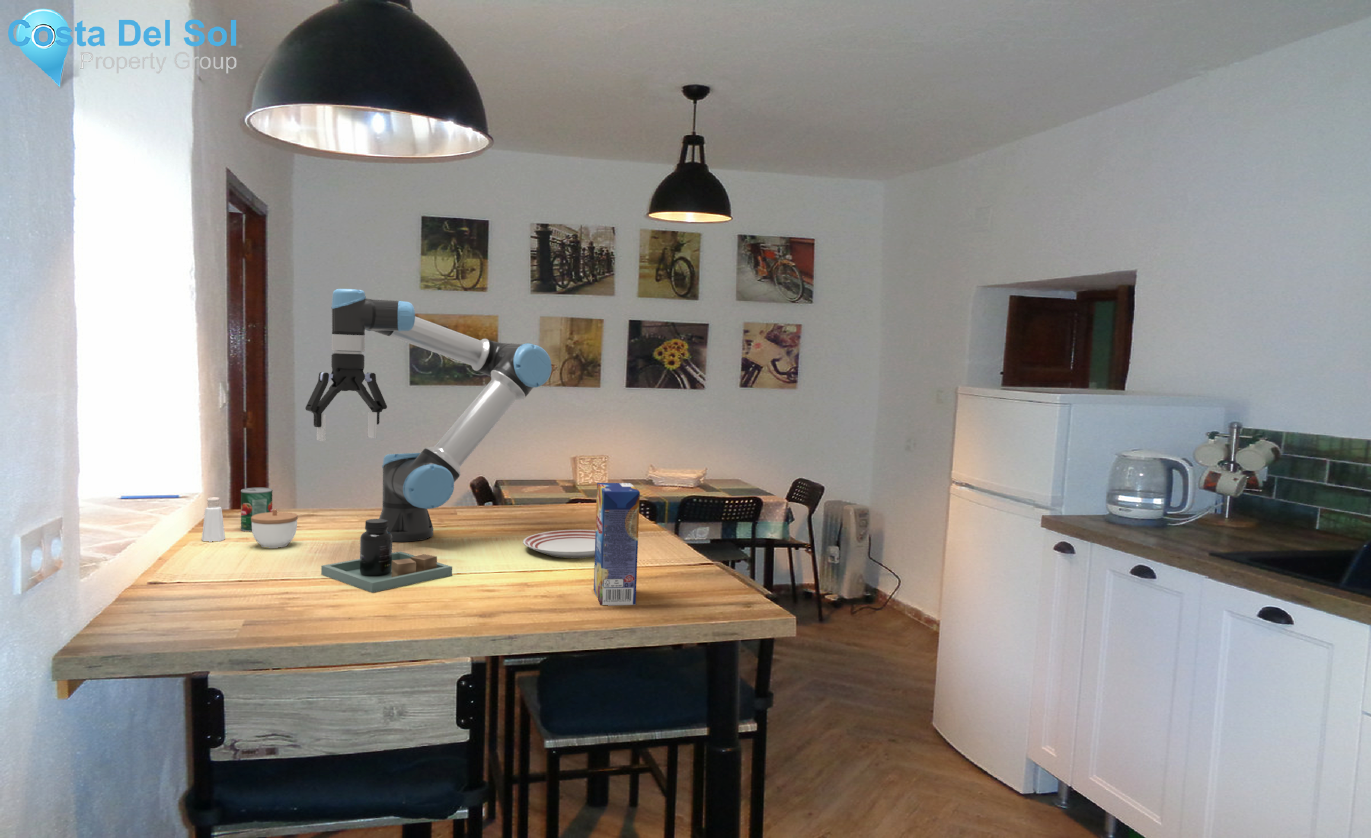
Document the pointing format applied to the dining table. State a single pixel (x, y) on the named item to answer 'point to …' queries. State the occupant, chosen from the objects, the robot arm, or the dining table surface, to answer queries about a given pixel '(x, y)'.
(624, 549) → the juice carton
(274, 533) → the lidded jar
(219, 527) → the pepper shaker
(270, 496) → the canned tomato
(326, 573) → the tray
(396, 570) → the walnut block
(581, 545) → the dinner plate
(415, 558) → the walnut block
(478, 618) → the dining table surface
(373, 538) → the supplement bottle
